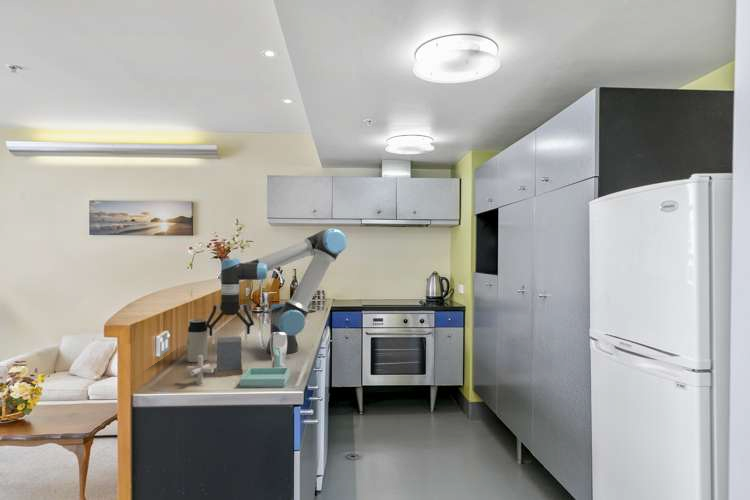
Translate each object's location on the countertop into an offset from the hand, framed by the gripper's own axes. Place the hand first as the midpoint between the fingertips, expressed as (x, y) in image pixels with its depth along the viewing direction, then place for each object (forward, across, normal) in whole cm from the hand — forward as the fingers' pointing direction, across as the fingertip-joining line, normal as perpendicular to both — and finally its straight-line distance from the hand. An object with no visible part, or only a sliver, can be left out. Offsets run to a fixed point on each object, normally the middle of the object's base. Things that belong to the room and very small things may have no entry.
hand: (229, 342), depth 192 cm
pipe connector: (+9, -10, -29) cm, 32 cm away
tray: (+9, +13, -34) cm, 37 cm away
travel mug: (+9, -14, +8) cm, 18 cm away
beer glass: (+9, +19, -18) cm, 28 cm away
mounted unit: (+9, 0, -16) cm, 18 cm away
